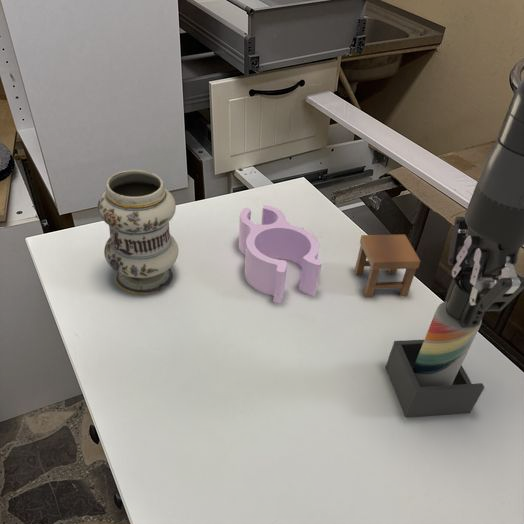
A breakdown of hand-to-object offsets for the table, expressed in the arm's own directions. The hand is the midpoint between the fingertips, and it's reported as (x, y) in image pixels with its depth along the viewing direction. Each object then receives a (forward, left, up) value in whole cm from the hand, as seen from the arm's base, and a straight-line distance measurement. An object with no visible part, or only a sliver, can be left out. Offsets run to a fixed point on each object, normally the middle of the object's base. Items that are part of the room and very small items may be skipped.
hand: (460, 312), depth 66 cm
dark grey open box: (0, 0, -15) cm, 15 cm away
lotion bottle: (0, 0, -15) cm, 15 cm away
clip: (+18, -31, -15) cm, 39 cm away
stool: (-1, -25, -15) cm, 29 cm away
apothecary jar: (+41, -29, -15) cm, 53 cm away
